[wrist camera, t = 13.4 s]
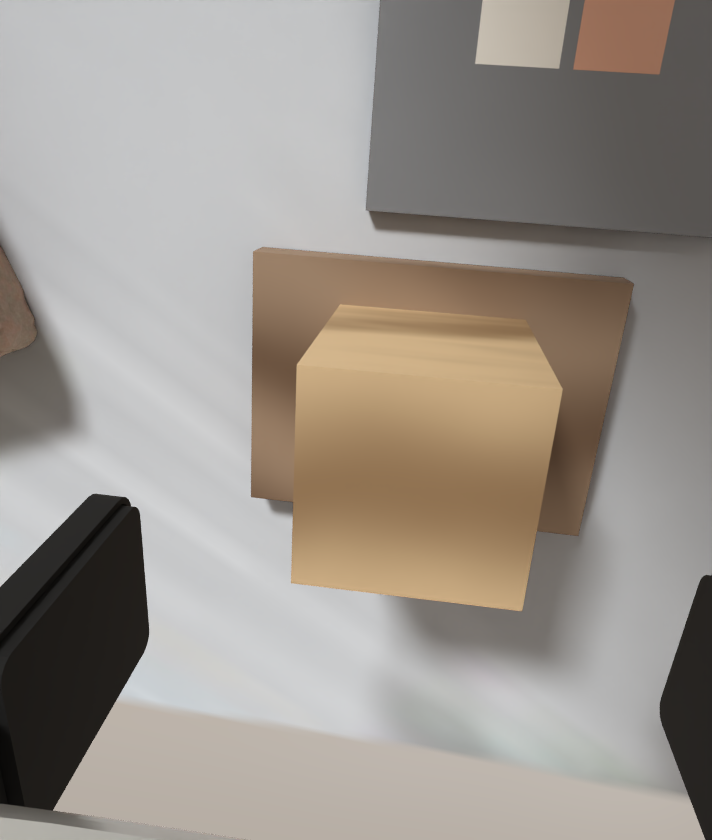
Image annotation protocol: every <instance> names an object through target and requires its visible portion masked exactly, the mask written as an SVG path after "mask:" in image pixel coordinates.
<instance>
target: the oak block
mask: <svg viewBox="0 0 712 840" xmlns="http://www.w3.org/2000/svg"><path fill="white" fill-rule="evenodd" d="M562 391H563V389H562V387H561V385H560V383H559V381H558V379H557V377H556V376H555V374H554V372H553V370H552V368H551V366H550V364H549V362H548V361H547V359H546V357H545V355H544V353H543V351H542V349H541V347H540V346H539V344H538V342H537V340H536V338H535V336H534V334H533V333H532V331H531V329H530V327H529V325H528V323H527V321H526V320H523V319H511V318H499V317H486V316H474V315H462V314H450V313H438V312H426V311H414V310H402V309H390V308H378V307H365V306H353V305H341V304H340V305H339V307H338V308H337V309H336V311H335V312H334V314H333V315H332V316H331V318H330V319H329V321H328V322H327V323H326V325H325V326H324V328H323V329H322V330H321V332H320V333H319V334H318V336H317V337H316V339H315V340H314V341H313V343H312V344H311V346H310V347H309V348H308V350H307V351H306V353H305V354H304V355H303V357H302V358H301V360H300V361H299V362H298V364H297V373H296V412H295V451H294V491H293V530H292V570H291V583H295V584H303V585H311V586H319V587H327V588H336V589H344V590H352V591H360V592H368V593H376V594H385V595H393V596H401V597H409V598H417V599H425V600H434V601H442V602H450V603H458V604H466V605H474V606H483V607H491V608H499V609H507V610H515V611H522V609H523V603H524V598H525V593H526V587H527V582H528V576H529V571H530V565H531V560H532V554H533V549H534V543H535V538H536V533H537V527H538V522H539V516H540V511H541V505H542V500H543V494H544V489H545V483H546V478H547V473H548V467H549V462H550V456H551V451H552V445H553V440H554V434H555V429H556V424H557V418H558V413H559V407H560V402H561V396H562Z"/></svg>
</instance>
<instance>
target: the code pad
mask: <svg viewBox="0 0 712 840" xmlns="http://www.w3.org/2000/svg"><path fill="white" fill-rule="evenodd" d="M366 210H368V211H381V212H393V213H406V214H419V215H432V216H444V217H457V218H470V219H482V220H495V221H508V222H521V223H533V224H546V225H559V226H571V227H584V228H597V229H610V230H622V231H635V232H648V233H660V234H673V235H686V236H699V237H711V238H712V0H380V10H379V24H378V39H377V53H376V68H375V83H374V97H373V112H372V126H371V141H370V155H369V170H368V184H367V199H366Z"/></svg>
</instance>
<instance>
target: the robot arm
mask: <svg viewBox="0 0 712 840" xmlns="http://www.w3.org/2000/svg"><path fill="white" fill-rule="evenodd" d="M148 637H149V622H148V609H147V597H146V584H145V572H144V559H143V546H142V534H141V521H140V513H139V510H138V508H136V507H131V504H130V502H129V499H127V498H126V497H118V496H110V495H101V494H92V495H91V496H89V497H88V498H87V499H86V500H85V501H84V502H83V503H82V504H81V505H80V506H79V507H78V508H77V509H76V510H75V511H74V512H73V513H72V514H71V515H70V516H69V517H68V519H67V520H66V521H65V522H64V523H63V524H62V525H61V526H60V527H59V528H58V529H57V530H56V531H55V532H54V533H53V534H52V535H51V536H50V537H49V538H48V539H47V540H46V541H45V542H44V543H43V544H42V545H41V546H40V547H39V548H38V549H37V550H36V551H35V552H34V553H33V554H32V555H31V556H30V557H29V558H28V559H27V560H26V561H25V562H24V563H23V564H22V565H21V566H20V567H19V568H18V569H17V570H16V571H15V573H14V574H13V575H12V576H11V577H10V578H9V579H8V580H7V581H6V582H5V583H4V584H3V585H2V586H1V587H0V840H246V839H239V838H233V837H226V836H220V835H214V834H207V833H200V832H194V831H187V830H181V829H175V828H168V827H162V826H155V825H149V824H142V823H136V822H130V821H123V820H116V819H109V818H103V817H95V816H88V815H81V814H73V813H66V812H58V811H53V809H54V807H55V805H56V804H57V802H58V800H59V799H60V797H61V795H62V793H63V792H64V790H65V788H66V786H67V785H68V783H69V781H70V780H71V778H72V776H73V774H74V773H75V771H76V769H77V767H78V766H79V764H80V762H81V761H82V758H83V757H84V755H85V754H86V752H87V750H88V748H89V747H90V745H91V743H92V741H93V740H94V738H95V736H96V735H97V733H98V731H99V729H100V728H101V726H102V724H103V722H104V720H105V719H106V717H107V715H108V714H109V712H110V710H111V708H112V707H113V705H114V703H115V702H116V700H117V698H118V696H119V695H120V693H121V691H122V689H123V688H124V686H125V684H126V683H127V681H128V679H129V677H130V676H131V674H132V672H133V670H134V669H135V667H136V665H137V663H138V662H139V660H140V658H141V657H142V655H143V653H144V651H145V649H146V646H147V642H148ZM660 718H661V723H662V726H663V728H664V731H665V734H666V736H667V739H668V742H669V744H670V747H671V750H672V752H673V755H674V758H675V760H676V763H677V766H678V768H679V771H680V774H681V776H682V779H683V781H684V784H685V787H686V789H687V792H688V795H689V797H690V800H691V803H692V805H693V808H694V810H695V813H696V816H697V819H698V821H699V824H700V826H701V829H702V832H703V834H704V837H705V839H706V840H712V576H710V575H705V576H703V577H702V578H701V580H700V583H699V585H698V588H697V591H696V594H695V597H694V600H693V603H692V606H691V609H690V612H689V615H688V618H687V621H686V624H685V628H684V631H683V634H682V637H681V640H680V643H679V646H678V649H677V652H676V655H675V658H674V661H673V664H672V667H671V670H670V673H669V676H668V679H667V682H666V685H665V688H664V691H663V694H662V697H661V701H660Z"/></svg>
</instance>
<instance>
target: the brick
mask: <svg viewBox="0 0 712 840" xmlns="http://www.w3.org/2000/svg"><path fill="white" fill-rule="evenodd" d="M34 320H35V319H34V317H33V315H32V313H31V311H30V310H29V307H28V305H27V303H26V300H25V298H24V293H23V289H22V287H21V284H20V282H19V281H18V279H17V277H16V275H15V273H14V271H13V269H12V267H11V265H10V263H9V261H8V259H7V257H6V255H5V253H4V251H3V250H2V248H1V246H0V357H1V356H3V355H6V354H8V353H10V352H14V351H17V350H20V349H23V348H25V347H27V346H29V345H30V344H31V343H32V342H33V341H34V340H35V338H36V335H37V330H36V327H35V325H34Z"/></svg>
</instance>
